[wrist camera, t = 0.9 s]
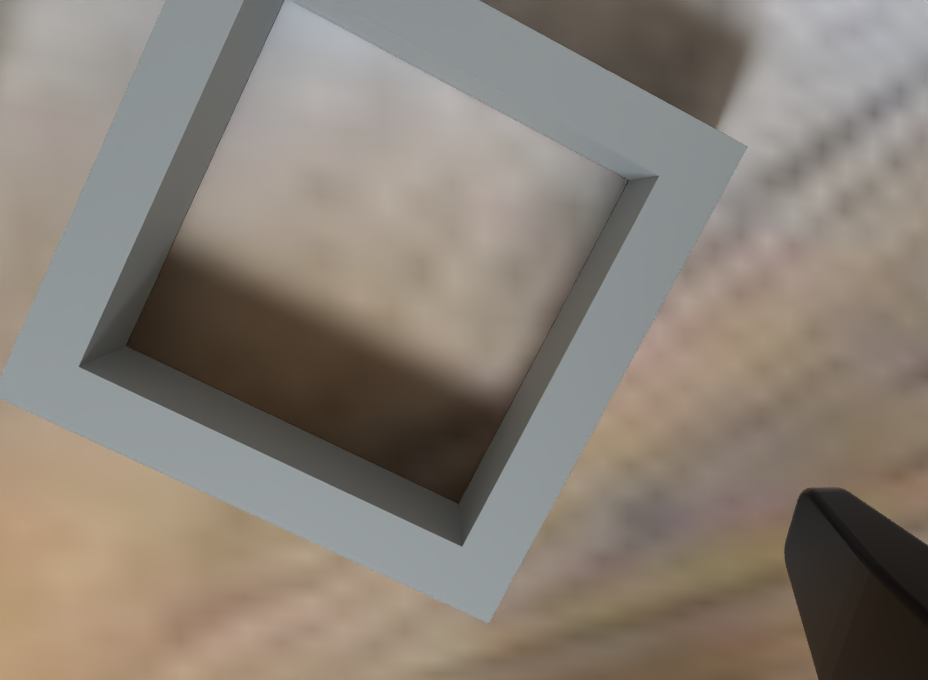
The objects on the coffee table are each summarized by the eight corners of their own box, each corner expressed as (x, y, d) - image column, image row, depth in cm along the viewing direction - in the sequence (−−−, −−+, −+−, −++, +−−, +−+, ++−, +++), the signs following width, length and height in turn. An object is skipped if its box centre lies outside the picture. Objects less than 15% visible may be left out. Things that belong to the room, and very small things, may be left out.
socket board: (481, 571, 24) (488, 623, 21) (51, 370, 22) (-8, 395, 19) (705, 155, 22) (747, 146, 19) (256, -88, 21) (226, -138, 18)
